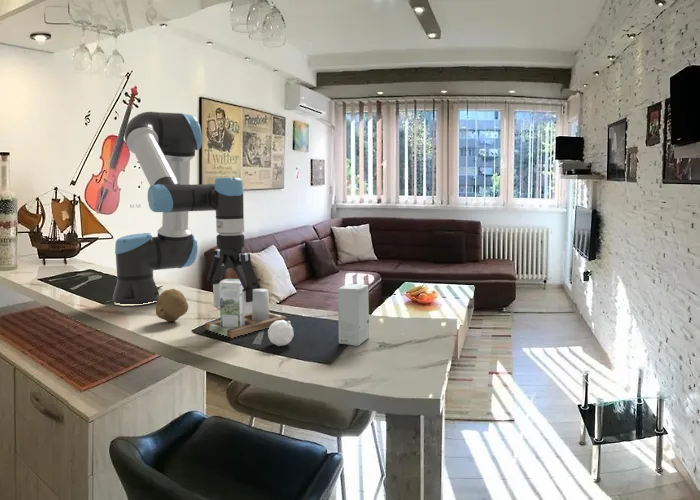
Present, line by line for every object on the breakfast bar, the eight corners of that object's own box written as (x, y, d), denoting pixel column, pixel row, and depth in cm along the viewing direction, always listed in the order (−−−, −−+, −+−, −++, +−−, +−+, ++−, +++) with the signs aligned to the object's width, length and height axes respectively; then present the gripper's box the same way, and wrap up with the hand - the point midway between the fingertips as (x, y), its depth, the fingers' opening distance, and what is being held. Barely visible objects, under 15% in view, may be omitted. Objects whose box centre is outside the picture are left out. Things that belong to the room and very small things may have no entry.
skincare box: (358, 346, 141) (359, 289, 139) (337, 344, 143) (337, 287, 141) (369, 337, 149) (370, 283, 147) (348, 335, 151) (349, 282, 149)
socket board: (205, 330, 155) (205, 323, 155) (260, 316, 170) (260, 310, 170) (231, 338, 148) (231, 331, 147) (286, 323, 163) (286, 316, 162)
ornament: (277, 339, 147) (294, 317, 146) (286, 354, 142) (303, 332, 141) (259, 331, 143) (275, 309, 142) (267, 347, 138) (285, 324, 137)
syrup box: (245, 327, 158) (244, 278, 156) (240, 333, 152) (239, 282, 150) (226, 327, 158) (224, 278, 156) (220, 333, 152) (218, 282, 150)
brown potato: (195, 319, 167) (193, 287, 166) (177, 327, 159) (176, 293, 157) (169, 317, 170) (168, 285, 169) (151, 324, 162) (149, 291, 160)
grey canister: (248, 323, 162) (247, 290, 161) (261, 320, 166) (260, 287, 165) (259, 326, 159) (258, 292, 158) (272, 323, 163) (272, 290, 162)
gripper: (193, 231, 157) (195, 305, 160) (247, 238, 141) (249, 319, 144) (215, 229, 162) (217, 300, 165) (270, 235, 146) (271, 314, 149)
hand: (232, 309), depth 154 cm, fingers open, 12 cm apart
